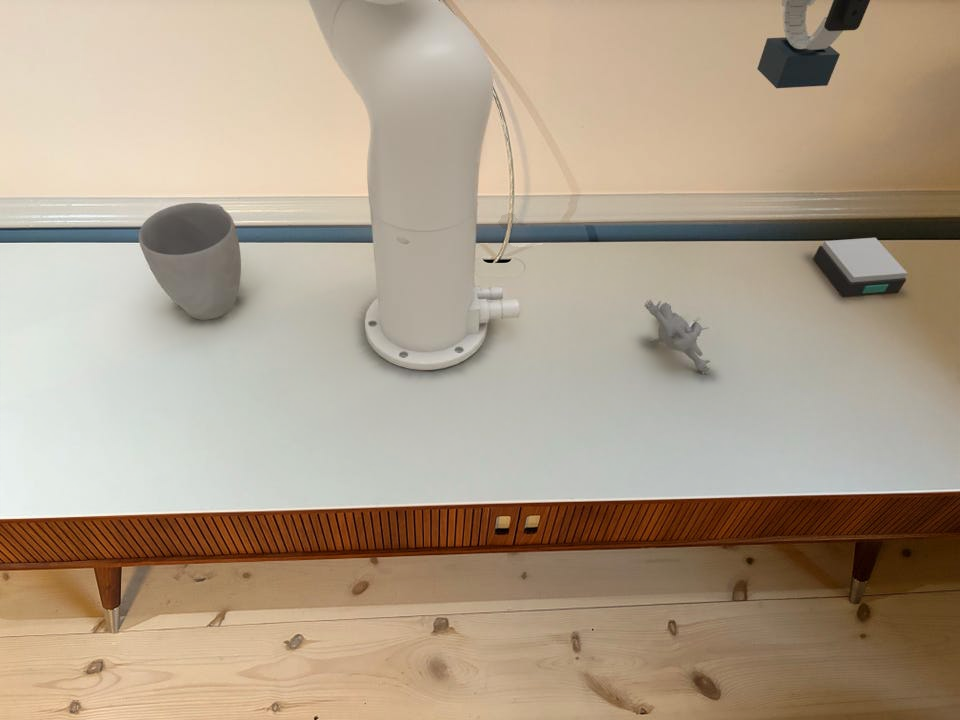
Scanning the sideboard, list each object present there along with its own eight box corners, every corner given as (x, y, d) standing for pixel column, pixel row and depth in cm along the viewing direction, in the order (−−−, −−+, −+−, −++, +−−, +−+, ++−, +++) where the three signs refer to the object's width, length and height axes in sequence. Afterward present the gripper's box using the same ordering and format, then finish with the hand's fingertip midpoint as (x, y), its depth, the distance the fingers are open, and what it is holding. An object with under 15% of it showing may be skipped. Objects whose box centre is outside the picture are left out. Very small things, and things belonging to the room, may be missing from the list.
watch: (797, 58, 74) (839, -58, 66) (836, 93, 68) (887, -29, 60) (748, 60, 73) (785, -57, 65) (783, 96, 68) (828, -27, 60)
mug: (238, 334, 71) (216, 259, 64) (152, 327, 71) (121, 252, 64) (271, 261, 79) (254, 187, 72) (194, 255, 79) (170, 181, 72)
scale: (865, 255, 85) (876, 236, 82) (899, 293, 80) (911, 274, 78) (812, 259, 84) (822, 240, 82) (843, 298, 79) (853, 279, 77)
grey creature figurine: (720, 329, 75) (738, 366, 66) (674, 362, 77) (686, 401, 69) (663, 261, 72) (675, 291, 64) (617, 296, 74) (622, 329, 66)
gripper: (1025, -209, 48) (904, 47, 61) (883, -244, 60) (807, -23, 72) (928, -210, 47) (826, 51, 60) (803, -245, 59) (740, -21, 71)
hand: (816, 9), depth 66 cm, fingers closed on watch, 8 cm apart
